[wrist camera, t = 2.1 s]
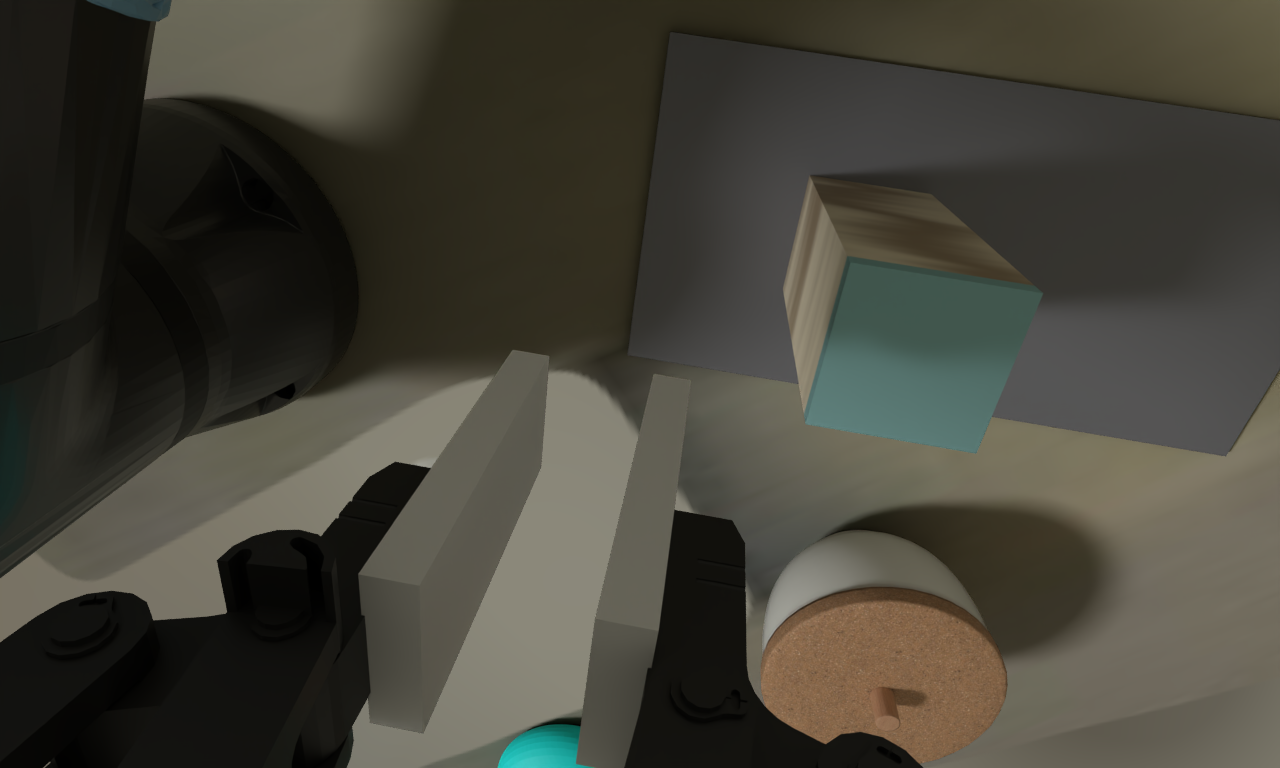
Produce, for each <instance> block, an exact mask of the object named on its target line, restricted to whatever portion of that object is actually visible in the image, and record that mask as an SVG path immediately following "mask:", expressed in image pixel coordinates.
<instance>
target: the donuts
mask: <svg viewBox="0 0 1280 768" xmlns="http://www.w3.org/2000/svg"><path fill="white" fill-rule="evenodd" d="M580 728H581V726H576V725H568V724H553V725H545V726H540V727H537V728H534V729H531V730H529V731H526V732H524V733H523V734H521V735H519V736H518V737H517V738H516V739H514V740H513V741H512V742H511V743H510V744H509V745H508V747H507V748H506V749H505V751H504V753H503V754H502V756H501V759H500V762H499V765H498V768H594V767H589V766H584V765H579V764H576V758H577V750H578V743H579V735H580Z"/></svg>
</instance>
